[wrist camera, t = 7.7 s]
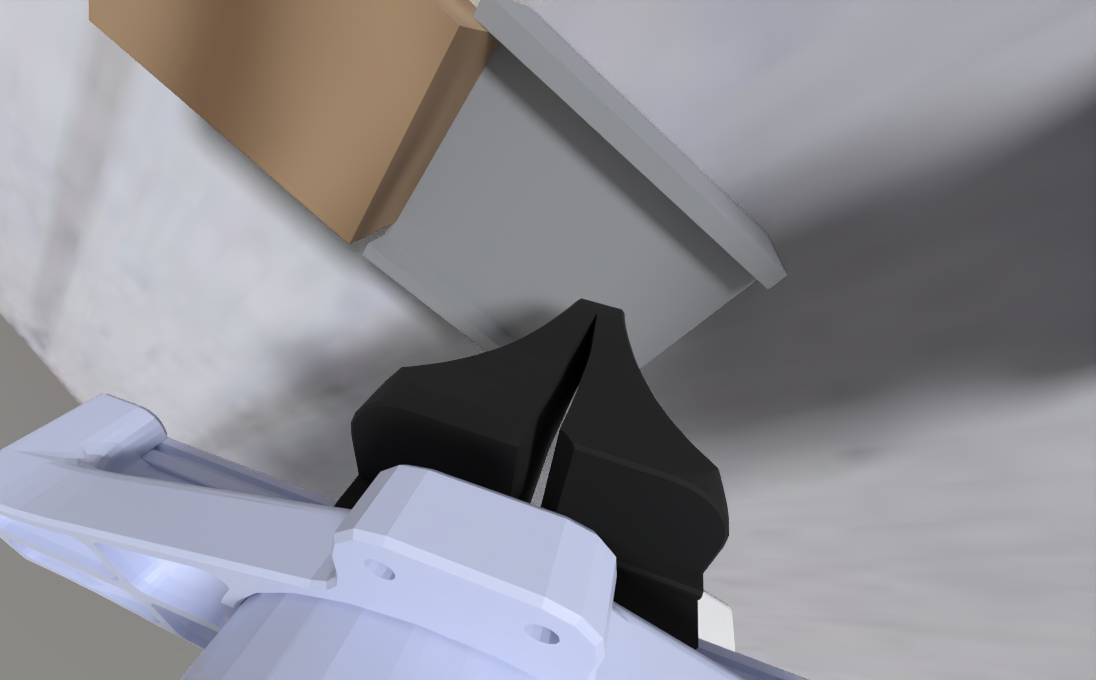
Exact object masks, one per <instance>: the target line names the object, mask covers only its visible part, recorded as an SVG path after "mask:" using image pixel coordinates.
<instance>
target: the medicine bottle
mask: <svg viewBox="0 0 1096 680" xmlns="http://www.w3.org/2000/svg"><path fill="white" fill-rule="evenodd" d="M698 638H700V639H702V640H705V641H708V642H710V643H713V644H716V645H718V646H721V647H724V648H726V649H729V650H732V651H734V652H735V643H734V631H733V619H732V611H731V608H730V607H729V606H728V605H726V604H724V603H723V602H721V601H719V600H718V599H716V598H714V597H713V596H711V595H710V594H708V593H706V592H705V591H703V596H702V598H701V599H700V600H698Z"/></svg>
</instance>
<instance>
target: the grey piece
mask: <svg viewBox="0 0 1096 680" xmlns="http://www.w3.org/2000/svg"><path fill="white" fill-rule="evenodd" d="M473 17H474V18H475V19H476V20H477V21H478V22H479V23H480V24H481V25H482V26H484V27H485V28H486V29H487V30H488V31H489V32H490V33H491V34H492V35H493V36H494V37H495V38H496V39H498V40H499V43H498V45H497V46H496V48H495V50H494V52H493V53H492V55H491V57H490V59H489V60H488V62H487V64H486V66H485V67H484V69H483V71H482V73H481V74H480V76H479V78H478V80H477V81H476V83H475V85H474V87H473V88H472V90H471V92H470V94H469V95H468V97H467V99H466V101H465V102H464V104H463V106H462V108H461V109H460V111H459V113H458V115H457V116H456V118H455V120H454V121H453V123H452V125H451V127H450V128H449V130H448V132H447V134H446V135H445V137H444V139H443V141H442V142H441V144H440V146H439V148H438V149H437V151H436V153H435V155H434V156H433V158H432V160H431V162H430V163H429V165H428V167H427V169H426V170H425V172H424V174H423V176H422V177H421V179H420V181H419V183H418V184H417V186H416V188H415V190H414V191H413V193H412V195H411V197H410V198H409V200H408V202H407V203H406V205H405V207H404V209H403V210H402V212H401V214H400V216H399V217H398V219H397V221H396V222H395V223H393V224H391V225H388V227H387V229H386V231H385V233H384V234H383V235H382V236H380V237H378V238H376V239H374V240H373V241H371V242H369V243H367V245H366V248H365V250H364V252H363V254H362V256H364V257H365V258H366V259H367V260H369V261H370V262H371V263H373V264H374V265H375V266H377V267H378V268H379V269H380V270H382V271H383V272H384V273H386V274H387V275H388V276H389V277H391V278H392V279H393V280H395V281H396V282H397V283H398V284H400V285H401V286H402V287H404V288H405V289H406V290H407V291H409V292H410V293H411V294H413V295H414V296H415V297H416V298H418V299H419V300H420V301H422V302H423V303H424V304H426V305H427V306H428V307H429V308H431V309H432V310H433V311H435V312H436V313H437V314H438V315H440V316H441V317H442V318H444V319H445V320H446V321H447V322H449V323H450V324H451V325H453V326H454V327H455V328H456V329H458V330H459V331H460V332H462V333H463V334H464V335H465V336H467V337H468V338H469V339H471V340H472V341H473V342H474V343H476V344H477V345H478V346H480V347H481V348H482V349H484V350H485V351H486V352H487V351H491V350H494V349H497V348H500V347H503V346H505V345H508V344H510V343H512V342H514V341H517V340H519V339H521V338H523V337H525V336H526V335H528V334H530V333H532V332H533V331H535V330H537V329H539V328H540V327H542V326H544V325H545V324H547V323H548V322H550V321H551V320H552V319H554V318H555V317H557V316H558V315H560V314H561V313H562V312H564V311H565V310H566V309H568V308H569V307H570V306H571V305H572V304H574V303H575V302H576V301H577V300H579V299H581V298H582V299H586V300H590V301H593V302H597V303H601V304H604V305H608V306H611V307H615V308H619V309H622V310H623V312H624V313H625V324H626V329H627V334H628V338H629V341H630V345H631V348H632V351H633V354H634V357H635V359H636V362H637V364H638V367H639V369H641V368H642V367H644V366H645V365H646V364H648V363H649V362H650V361H651V360H653V359H654V358H655V357H657V356H658V355H659V354H661V353H662V352H663V351H665V350H666V349H667V348H669V347H670V346H671V345H672V344H674V343H675V342H676V341H678V340H679V339H680V338H682V337H683V336H684V335H686V334H687V333H688V332H689V331H691V330H692V329H693V328H695V327H696V326H697V325H699V324H700V323H701V322H703V321H704V320H705V319H707V318H708V317H709V316H710V315H712V314H713V313H714V312H716V311H717V310H718V309H720V308H721V307H722V306H724V305H725V304H726V303H727V302H729V301H730V300H731V299H733V298H734V297H735V296H737V295H738V294H739V293H741V292H742V291H743V290H745V289H746V288H747V287H748V286H750V285H751V284H752V283H754V282H755V281H756V280H758V281H759V282H760V283H761V284H762V285H763V286H764V287H765V288H767V289H768V290H769V289H770V288H771V287H773V286H774V285H775V284H777V283H778V282H779V281H781V280H782V279H784V278H785V277H786V276H787V274H786V272H785V270H784V268H783V266H782V264H781V262H780V260H779V258H778V256H777V254H776V251H775V249H774V247H773V245H772V243H771V241H770V239H769V237H768V235H767V233H766V232H765V231H764V230H763V229H762V228H761V227H759V226H758V225H757V224H756V223H755V222H754V221H753V220H752V219H751V218H750V217H749V216H748V215H747V214H746V213H745V212H744V211H743V210H742V209H741V208H740V207H739V206H737V205H736V204H735V203H734V202H733V201H732V200H731V199H730V198H729V197H728V196H727V195H726V194H725V193H724V192H723V191H722V190H721V189H720V188H719V187H718V186H717V185H715V184H714V183H713V182H712V181H711V180H710V179H709V178H708V177H707V176H706V175H705V174H704V173H703V172H702V171H701V170H700V169H699V168H698V167H697V166H696V165H695V164H694V163H692V162H691V161H690V160H689V159H688V158H687V157H686V156H685V155H684V154H683V153H682V152H681V151H680V150H679V149H678V148H677V147H676V146H675V145H674V144H673V143H672V142H670V141H669V140H668V139H667V138H666V137H665V136H664V135H663V134H662V133H661V132H660V131H659V130H658V129H657V128H656V127H655V126H654V125H653V124H652V123H651V122H650V121H648V120H647V119H646V118H645V117H644V116H643V115H642V114H641V113H640V112H639V111H638V110H637V109H636V108H635V107H634V106H633V105H632V104H631V103H630V102H629V101H628V100H626V99H625V98H624V97H623V96H622V95H621V94H620V93H619V92H618V91H617V90H616V89H615V88H614V87H613V86H612V85H611V84H610V83H609V82H608V81H607V80H606V79H605V78H603V77H602V76H601V75H600V74H599V73H598V72H597V71H596V70H595V69H594V68H593V67H592V66H591V65H590V64H589V63H588V62H587V61H586V60H585V59H584V58H583V57H581V56H580V55H579V54H578V53H577V52H576V51H575V50H574V49H573V48H572V47H571V46H570V45H569V44H568V43H567V42H566V41H565V40H564V39H563V38H562V37H561V36H559V35H558V34H557V33H556V32H555V31H554V30H553V29H552V28H551V27H550V26H549V25H548V24H547V23H546V22H545V21H544V20H543V19H542V18H541V17H540V16H539V15H538V14H536V13H535V12H534V11H533V10H532V9H531V8H530V7H527V6H524V5H522V4H519V3H516V2H514V1H511V0H480V2H479V4H478V7H477V9H476V11H475V13H474V15H473ZM577 389H578V387H577ZM576 391H577V390H576ZM575 394H576V392H575ZM575 394H574V396H575ZM574 396H573V398H572V400H571V403H572V401H573V399H574ZM571 403H570V405H569V407H568V409H567V411H566V414H567V413H568V410H569V408H570V406H571Z"/></svg>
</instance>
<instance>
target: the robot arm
mask: <svg viewBox="0 0 1096 680" xmlns="http://www.w3.org/2000/svg"><path fill="white" fill-rule="evenodd" d="M577 387H578V389H577ZM576 390H577V391H576ZM575 392H576V394H575ZM574 394H575V396H574ZM573 396H574V399H573V401H572V403H571V400H572V398H573ZM570 403H571V406H570V408H569V410H568V413H567V415H566V417H565V419H564V422H563V424H562V426H561V428H560V431H559V435H558V439H557V443H556V447H555V452H554V456H553V460H552V464H551V468H550V472H549V476H548V480H547V484H546V488H545V492H544V496H543V500H542V504H541V507H538V506H535V505H533V504H530V503H531V500H532V497H533V494H534V491H535V488H536V485H537V482H538V479H539V476H540V473H541V471H542V468H543V465H544V462H545V459H546V456H547V453H548V451H549V448H550V446H551V443H552V441H553V439H554V437H555V435H556V432H557V430H558V428H559V426H560V424H561V422H562V420H563V418H564V415H565V413H566V411H567V409H568V407H569V405H570ZM351 435H352V440H353V446H354V451H355V456H356V462H357V467H358V472H359V475H358V477H357V478H356V479H355V480H354V482H353V483H352V484H351V485H350V486H349V488H348V489H347V490H346V491H345V493H344V494H343V495H342V496H341V498H340V499H339V500H338V501H335V500H332V499H330V498H327V497H324V496H322V495H319V494H316V493H314V492H311V491H308V490H306V489H303V488H300V487H298V486H295V485H293V484H290V483H287V482H285V481H282V480H279V479H277V478H274V477H271V476H269V475H266V474H263V473H261V472H258V471H256V470H253V469H250V468H248V467H245V466H242V465H240V464H237V463H234V462H232V461H229V460H226V459H224V458H221V457H218V456H216V455H213V454H211V453H208V452H205V451H203V450H200V449H197V448H195V447H192V446H189V445H187V444H184V443H181V442H179V441H176V440H174V439H171V438H168V437H167V432H166V430H165V428H164V426H163V424H162V422H161V421H160V420H159V418H158V417H157V416H156V415H155V414H154V413H152V412H151V411H150V410H148V409H146V408H144V407H142V406H139V405H137V404H134V403H131V402H128V401H126V400H123V399H120V398H118V397H115V396H112V395H109V394H100V395H98V396H96V397H95V398H93V399H91V400H89V401H87V402H86V403H84V404H82V405H80V406H79V407H77V408H75V409H73V410H71V411H69V412H68V413H66V414H64V415H62V416H61V417H59V418H57V419H56V420H53V421H52V422H50V423H48V424H46V425H44V426H43V427H41V428H39V429H37V430H36V431H34V432H32V433H30V434H29V435H27V436H25V437H23V438H22V439H19V440H18V441H16V442H14V443H12V444H11V445H9V446H7V447H5V448H4V449H2V450H0V537H1V538H2V539H3V540H4V541H5V542H6V543H8V544H9V545H10V546H11V547H12V548H13V549H15V550H16V551H17V552H18V553H19V554H21V555H22V556H23V557H24V558H25V559H27V560H29V561H31V562H34V563H36V564H38V565H40V566H42V567H44V568H46V569H48V570H51V571H53V572H55V573H57V574H59V575H61V576H63V577H65V578H67V579H69V580H71V581H73V582H75V583H77V584H79V585H81V586H83V587H85V588H87V589H89V590H91V591H93V592H95V593H97V594H99V595H101V596H103V597H105V598H107V599H109V600H111V601H113V602H114V603H117V604H118V605H120V606H122V607H124V608H126V609H128V610H130V611H131V612H133V613H135V614H137V615H139V616H141V617H143V618H144V619H146V620H149V621H150V622H152V623H154V624H156V625H157V626H160V627H161V628H163V629H165V630H167V631H169V632H171V633H173V634H174V635H176V636H178V637H180V638H182V639H184V640H185V641H187V642H189V643H191V644H193V645H195V646H196V647H198V648H200V649H202V650H203V652H202V653H201V654H200V655H199V657H198V658H197V659H196V660H195V661H194V663H193V664H192V665H191V666H190V667H189V669H188V670H187V671H186V672H185V673H184V675H183V676H182V677H181V678H180V679H179V680H808V679H806V678H803V677H800V676H798V675H795V674H792V673H790V672H787V671H784V670H782V669H779V668H776V667H774V666H771V665H769V664H766V663H763V662H761V661H758V660H755V659H753V658H750V657H747V656H745V655H742V654H739V653H737V652H734V651H732V650H729V649H726V648H724V647H721V646H718V645H716V644H713V643H710V642H708V641H705V640H702V639H700V638H698V600H700V599H701V598H702V596H703V573H704V571H705V570H706V569H707V568H708V566H709V565H710V564H711V562H712V561H713V560H714V559H715V557H716V556H717V555H718V553H719V552H720V551H721V549H722V548H723V547H724V545H725V543H726V541H727V538H728V536H729V516H728V508H727V502H726V498H725V493H724V489H723V485H722V481H721V477H720V473H719V470H718V468H717V467H716V466H715V465H714V464H713V463H712V462H711V461H710V460H709V459H708V458H707V457H706V456H704V455H703V454H702V453H701V452H700V451H699V450H698V449H697V448H696V447H695V446H694V445H693V444H692V443H691V442H690V441H689V440H688V439H687V438H686V437H685V436H684V435H683V433H682V432H681V431H680V430H679V429H678V428H677V427H676V426H675V424H674V423H673V422H672V421H671V420H670V418H669V417H668V416H667V414H666V413H665V412H664V410H663V409H662V408H661V406H660V405H659V403H658V402H657V401H656V399H655V397H654V396H653V394H652V393H651V391H650V389H649V387H648V385H647V384H646V382H645V380H644V378H643V376H642V373H641V371H640V369H639V367H638V364H637V362H636V359H635V357H634V354H633V351H632V348H631V345H630V341H629V338H628V334H627V329H626V324H625V313H624V312H623V310H622V309H619V308H615V307H611V306H608V305H604V304H601V303H597V302H593V301H590V300H586V299H582V298H581V299H579V300H577V301H576V302H575V303H574V304H572V305H571V306H570V307H569V308H568V309H566V310H565V311H564V312H562V313H561V314H560V315H558V316H557V317H555V318H554V319H552V320H551V321H550V322H548V323H547V324H545V325H544V326H542V327H540V328H539V329H537V330H535V331H533V332H532V333H530V334H528V335H526V336H525V337H523V338H521V339H519V340H517V341H514V342H512V343H510V344H508V345H505V346H503V347H500V348H497V349H494V350H491V351H487V352H484V353H481V354H478V355H475V356H471V357H467V358H463V359H458V360H453V361H448V362H443V363H436V364H428V365H420V366H412V367H401V368H400V369H399V370H398V371H397V372H396V373H395V374H393V375H392V376H391V377H390V378H389V379H387V380H386V381H385V382H384V383H383V384H382V385H381V386H380V387H379V388H378V389H377V391H376V392H375V393H374V394H373V395H372V396H371V397H370V398H369V399H368V400H367V401H366V402H365V403H364V404H363V405H362V406H361V407H360V408H359V409H358V410H357V411H356V413H355V415H354V417H353V419H352V422H351Z"/></svg>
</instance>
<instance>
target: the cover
mask: <svg viewBox="0 0 1096 680" xmlns="http://www.w3.org/2000/svg"><path fill="white" fill-rule="evenodd" d="M476 9H477V8H476V7H475V6H474V5H473V4H472V3H471V2H470V1H469V0H89V20H90V21H91V22H92V23H93V24H94V25H95V26H97V27H98V28H99V29H100V30H101V31H102V32H104V33H105V34H106V35H107V36H108V37H109V38H110V39H112V40H113V41H114V42H115V43H116V44H117V45H119V46H120V47H121V48H122V49H123V50H124V51H126V52H127V53H128V54H129V55H130V56H131V57H133V58H134V59H135V60H136V61H137V62H138V63H139V64H141V65H142V66H143V67H144V68H145V69H146V70H148V71H149V72H150V73H151V74H152V75H153V76H155V77H156V78H157V79H158V80H159V81H160V82H162V83H163V84H164V85H165V86H166V87H167V88H168V89H170V90H171V91H172V92H173V93H174V94H175V95H177V96H178V97H179V98H180V99H181V100H182V101H184V102H185V103H186V104H187V105H188V106H189V107H190V108H192V109H193V110H194V111H195V112H196V113H197V114H199V115H200V116H201V117H202V118H203V119H204V120H206V121H207V122H208V123H209V124H210V125H211V126H213V127H214V128H215V129H216V130H217V131H218V132H219V133H221V134H222V135H223V136H224V137H225V138H226V139H228V140H229V141H230V142H231V143H232V144H233V145H235V146H236V147H237V148H238V149H239V150H240V151H242V152H243V153H244V154H245V155H246V156H247V157H248V158H250V159H251V160H252V161H253V162H254V163H255V164H257V165H258V166H259V167H260V168H261V169H262V170H264V171H265V172H266V173H267V174H268V175H269V176H271V177H272V178H273V179H274V180H275V181H276V182H277V183H279V184H280V185H281V186H282V187H283V188H284V189H286V190H287V191H288V192H289V193H290V194H291V195H293V196H294V197H295V198H296V199H297V200H298V201H299V202H301V203H302V204H303V205H304V206H305V207H306V208H308V209H309V210H310V211H311V212H312V213H313V214H315V215H316V216H317V217H318V218H319V219H320V220H322V221H323V222H324V223H325V224H326V225H327V226H328V227H330V228H331V229H332V230H333V231H334V232H335V233H337V234H338V235H339V236H340V237H341V238H342V239H344V240H345V241H346V242H347V243H348V244H351V243H353V242H355V241H357V240H359V239H361V238H363V237H366V236H368V235H370V234H372V233H374V232H376V231H378V230H380V229H382V228H384V227H386V226H388V225H391V224H393V223H395V222H396V221H397V219H398V217H399V216H400V214H401V212H402V210H403V209H404V207H405V205H406V203H407V202H408V200H409V198H410V197H411V195H412V193H413V191H414V190H415V188H416V186H417V184H418V183H419V181H420V179H421V177H422V176H423V174H424V172H425V170H426V169H427V167H428V165H429V163H430V162H431V160H432V158H433V156H434V155H435V153H436V151H437V149H438V148H439V146H440V144H441V142H442V141H443V139H444V137H445V135H446V134H447V132H448V130H449V128H450V127H451V125H452V123H453V121H454V120H455V118H456V116H457V115H458V113H459V111H460V109H461V108H462V106H463V104H464V102H465V101H466V99H467V97H468V95H469V94H470V92H471V90H472V88H473V87H474V85H475V83H476V81H477V80H478V78H479V76H480V74H481V73H482V71H483V69H484V67H485V66H486V64H487V62H488V60H489V59H490V57H491V55H492V53H493V52H494V50H495V48H496V46H497V45H498V43H499V40H498V39H496V38H495V37H494V36H493V35H492V34H491V33H490V32H489V31H488V30H487V29H486V28H485V27H484V26H482V25H481V24H480V23H479V22H478V21H477V20H476V19H475V18H474V17H473V15H474V13H475V11H476Z"/></svg>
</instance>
